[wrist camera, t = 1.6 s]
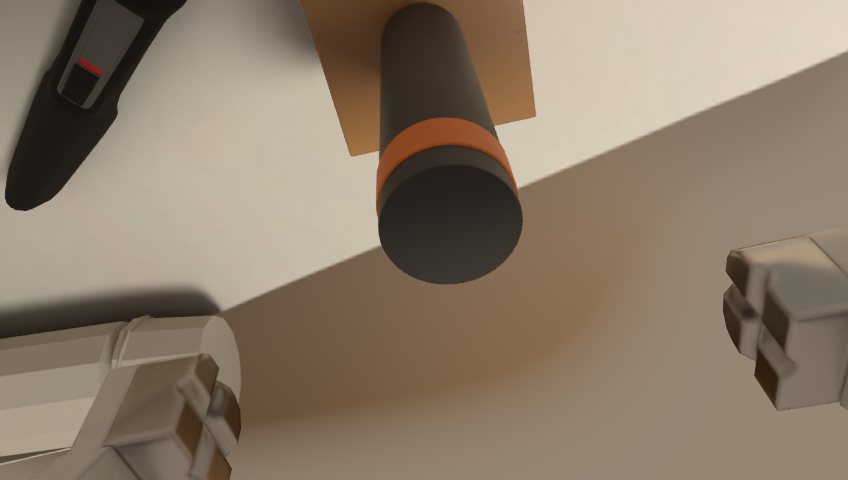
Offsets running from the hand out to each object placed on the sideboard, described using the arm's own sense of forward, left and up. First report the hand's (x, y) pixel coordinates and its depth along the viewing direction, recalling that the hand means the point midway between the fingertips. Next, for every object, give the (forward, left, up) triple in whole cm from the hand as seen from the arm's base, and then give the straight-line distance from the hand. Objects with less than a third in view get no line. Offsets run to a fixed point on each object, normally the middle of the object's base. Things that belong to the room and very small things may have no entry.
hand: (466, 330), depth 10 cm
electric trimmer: (+1, -16, -24) cm, 29 cm away
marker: (0, 0, -14) cm, 14 cm away
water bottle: (+17, -41, -20) cm, 49 cm away
